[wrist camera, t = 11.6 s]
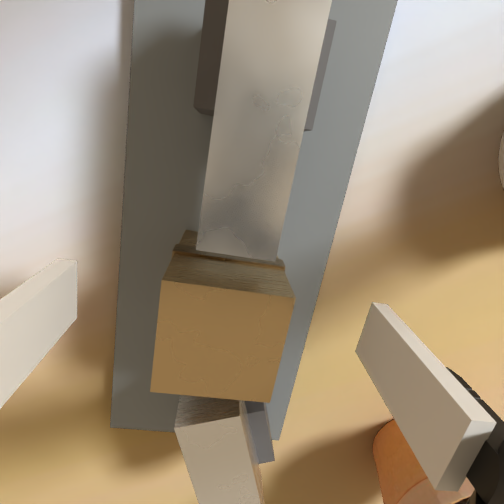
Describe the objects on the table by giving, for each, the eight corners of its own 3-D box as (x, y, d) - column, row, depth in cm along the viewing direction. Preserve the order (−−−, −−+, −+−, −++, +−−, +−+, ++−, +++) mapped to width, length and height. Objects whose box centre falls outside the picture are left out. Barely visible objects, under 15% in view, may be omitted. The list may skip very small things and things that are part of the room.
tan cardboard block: (174, 309, 20) (147, 393, 13) (183, 227, 18) (159, 277, 12) (257, 319, 20) (271, 404, 14) (274, 241, 19) (299, 296, 12)
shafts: (243, -73, 11) (248, -145, 8) (393, -31, 12) (444, -84, 9) (167, 481, 20) (157, 539, 17) (258, 487, 20) (263, 543, 17)
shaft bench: (144, -65, 15) (110, -149, 10) (390, -1, 16) (448, -51, 12) (114, 415, 23) (89, 477, 19) (276, 428, 25) (287, 488, 21)
